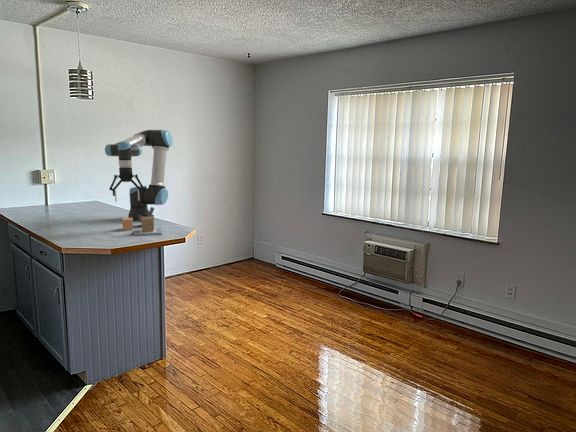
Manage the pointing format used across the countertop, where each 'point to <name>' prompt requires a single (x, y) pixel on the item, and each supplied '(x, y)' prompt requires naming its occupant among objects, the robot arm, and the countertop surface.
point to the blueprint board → (139, 232)
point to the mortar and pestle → (147, 214)
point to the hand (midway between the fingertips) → (127, 200)
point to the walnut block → (147, 224)
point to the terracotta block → (127, 224)
